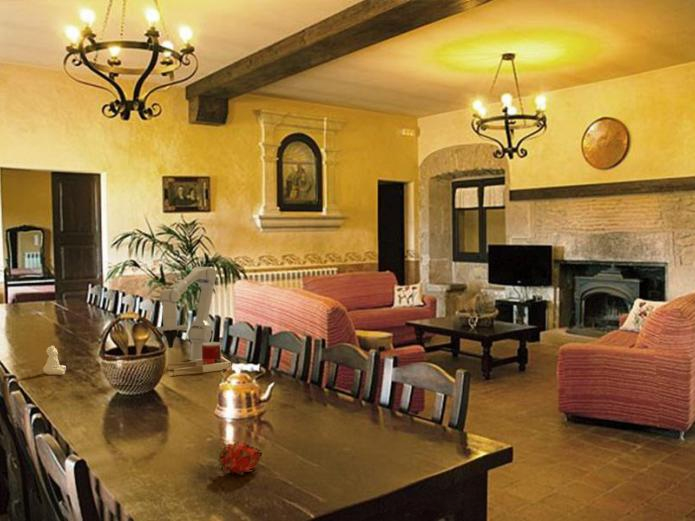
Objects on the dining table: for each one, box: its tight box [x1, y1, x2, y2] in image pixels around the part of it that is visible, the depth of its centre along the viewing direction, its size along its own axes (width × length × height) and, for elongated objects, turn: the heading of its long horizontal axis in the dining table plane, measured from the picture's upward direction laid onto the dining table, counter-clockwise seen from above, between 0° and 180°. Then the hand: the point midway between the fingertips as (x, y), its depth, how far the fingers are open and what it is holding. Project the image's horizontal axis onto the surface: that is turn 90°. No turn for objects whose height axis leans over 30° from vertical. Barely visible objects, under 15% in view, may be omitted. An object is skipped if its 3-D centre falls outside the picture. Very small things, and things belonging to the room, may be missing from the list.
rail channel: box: [167, 360, 204, 377], centre depth 260 cm, size 13×12×2 cm
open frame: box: [195, 356, 232, 373], centre depth 266 cm, size 13×12×3 cm
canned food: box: [202, 341, 222, 365], centre depth 265 cm, size 8×8×11 cm
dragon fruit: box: [218, 441, 263, 476], centre depth 152 cm, size 8×8×12 cm
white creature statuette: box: [42, 345, 67, 376], centre depth 257 cm, size 10×9×12 cm
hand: (170, 347), depth 262 cm, fingers closed
